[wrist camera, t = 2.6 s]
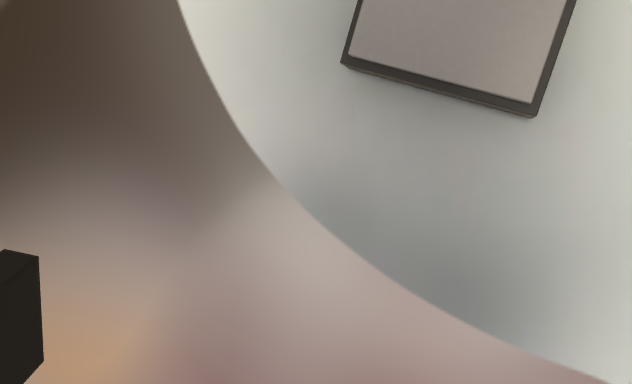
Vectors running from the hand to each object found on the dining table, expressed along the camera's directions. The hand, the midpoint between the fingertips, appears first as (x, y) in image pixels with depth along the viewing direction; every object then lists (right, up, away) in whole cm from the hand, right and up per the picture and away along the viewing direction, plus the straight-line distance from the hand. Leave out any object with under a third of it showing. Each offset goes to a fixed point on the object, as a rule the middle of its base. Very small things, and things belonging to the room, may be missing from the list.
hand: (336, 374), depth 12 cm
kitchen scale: (+8, +15, +21) cm, 27 cm away
